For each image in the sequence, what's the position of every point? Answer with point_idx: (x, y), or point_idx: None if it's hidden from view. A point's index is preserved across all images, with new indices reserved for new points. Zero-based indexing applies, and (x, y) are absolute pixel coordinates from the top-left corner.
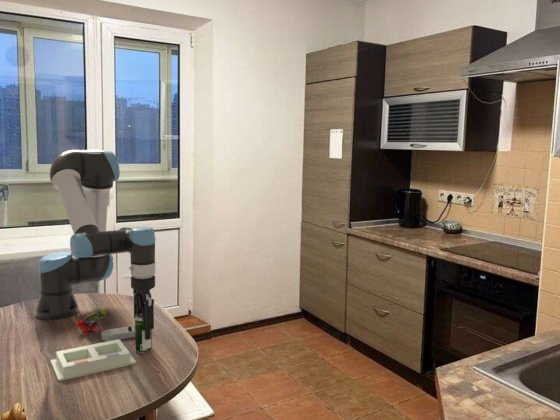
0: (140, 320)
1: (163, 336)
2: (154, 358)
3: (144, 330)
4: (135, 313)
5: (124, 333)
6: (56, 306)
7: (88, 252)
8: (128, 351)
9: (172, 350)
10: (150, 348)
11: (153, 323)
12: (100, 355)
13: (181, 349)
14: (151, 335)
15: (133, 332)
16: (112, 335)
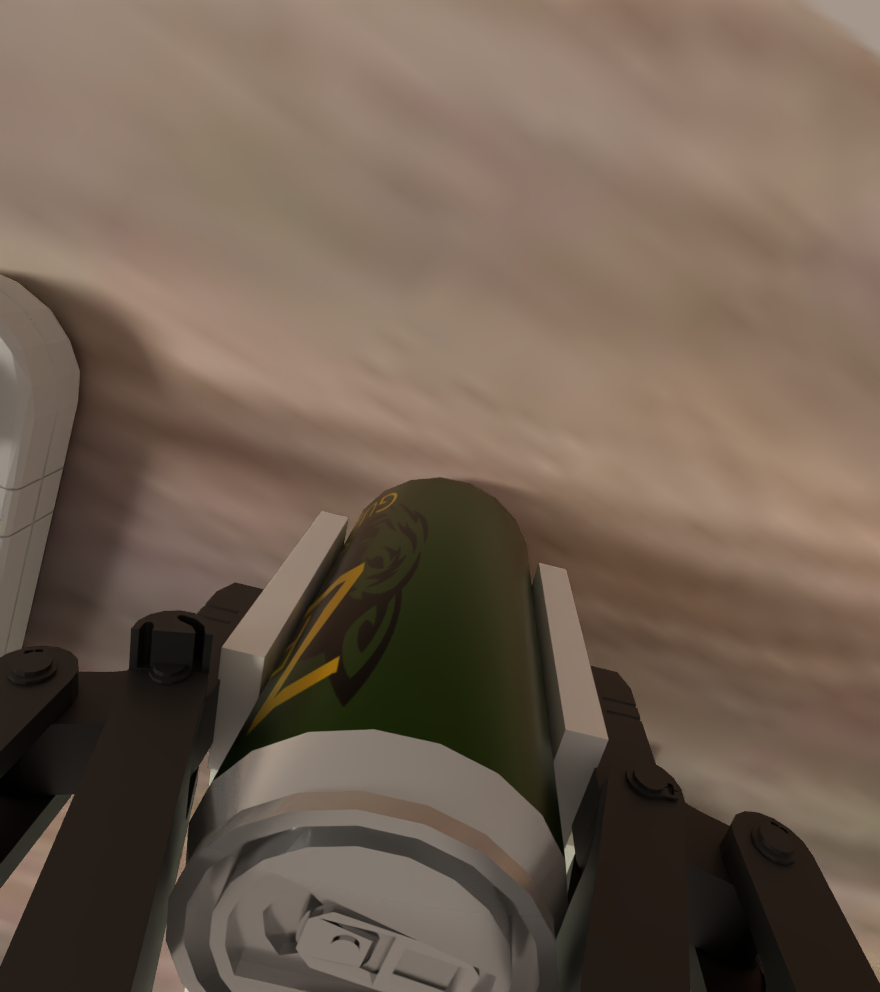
0: None
1: (217, 151)
2: (680, 579)
3: (569, 820)
4: (13, 867)
5: (3, 568)
6: None
7: None
8: (572, 850)
9: (671, 323)
10: (525, 547)
11: (853, 947)
12: None
13: (740, 214)
14: (524, 603)
15: (24, 483)
16: None
